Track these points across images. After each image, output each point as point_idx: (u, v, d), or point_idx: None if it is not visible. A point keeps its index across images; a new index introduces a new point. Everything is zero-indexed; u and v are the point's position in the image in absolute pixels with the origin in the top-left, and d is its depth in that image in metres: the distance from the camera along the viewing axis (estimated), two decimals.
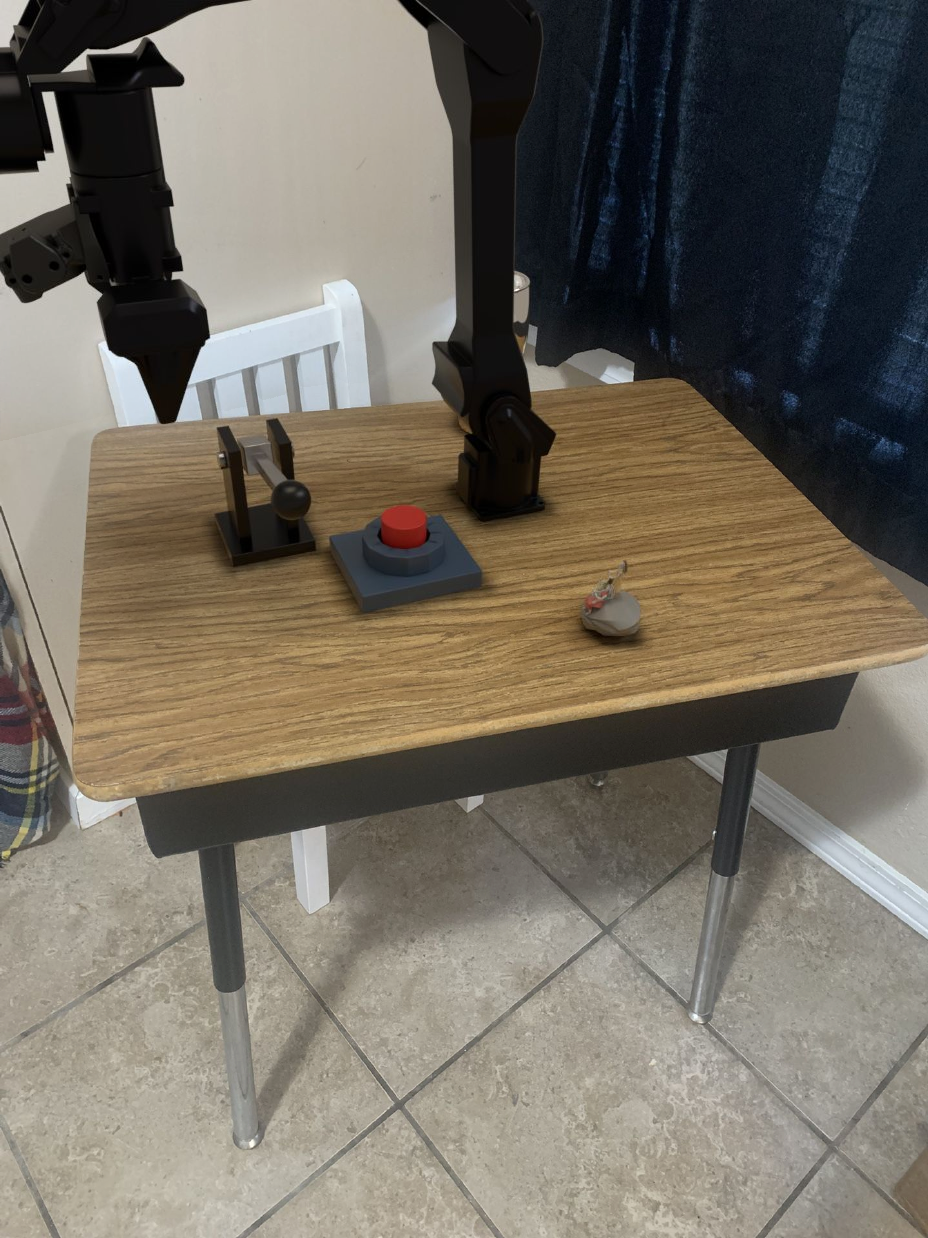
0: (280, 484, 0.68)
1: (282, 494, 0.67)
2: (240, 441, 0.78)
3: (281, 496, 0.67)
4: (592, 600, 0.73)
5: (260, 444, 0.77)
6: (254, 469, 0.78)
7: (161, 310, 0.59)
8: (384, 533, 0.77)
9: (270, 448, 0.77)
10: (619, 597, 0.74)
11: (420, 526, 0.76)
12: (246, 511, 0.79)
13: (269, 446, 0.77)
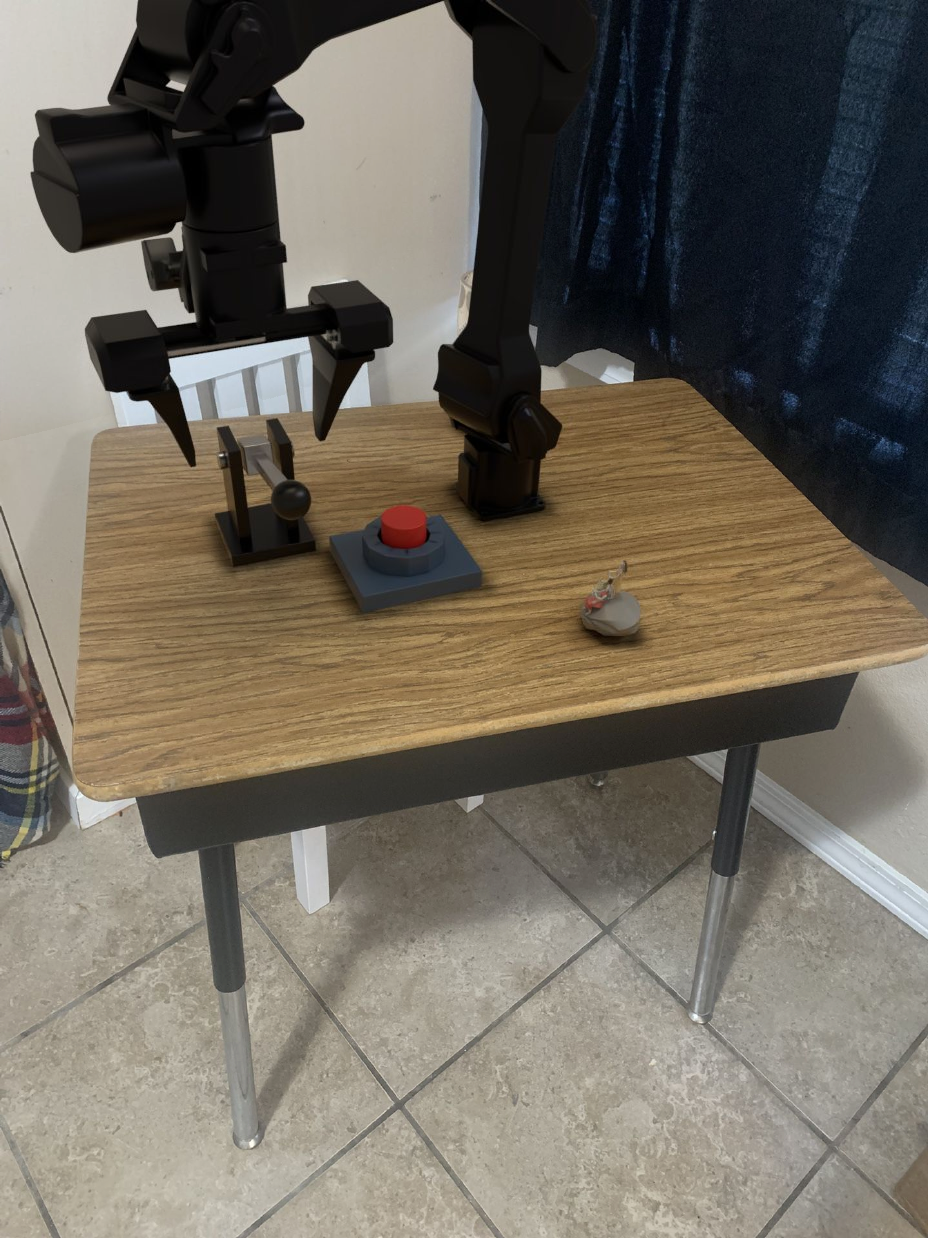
0: (280, 484, 0.68)
1: (282, 494, 0.67)
2: (240, 441, 0.78)
3: (281, 496, 0.67)
4: (592, 600, 0.73)
5: (260, 444, 0.77)
6: (254, 469, 0.78)
7: (93, 341, 0.59)
8: (384, 533, 0.77)
9: (270, 448, 0.77)
10: (619, 597, 0.74)
11: (420, 526, 0.76)
12: (246, 511, 0.79)
13: (269, 446, 0.77)
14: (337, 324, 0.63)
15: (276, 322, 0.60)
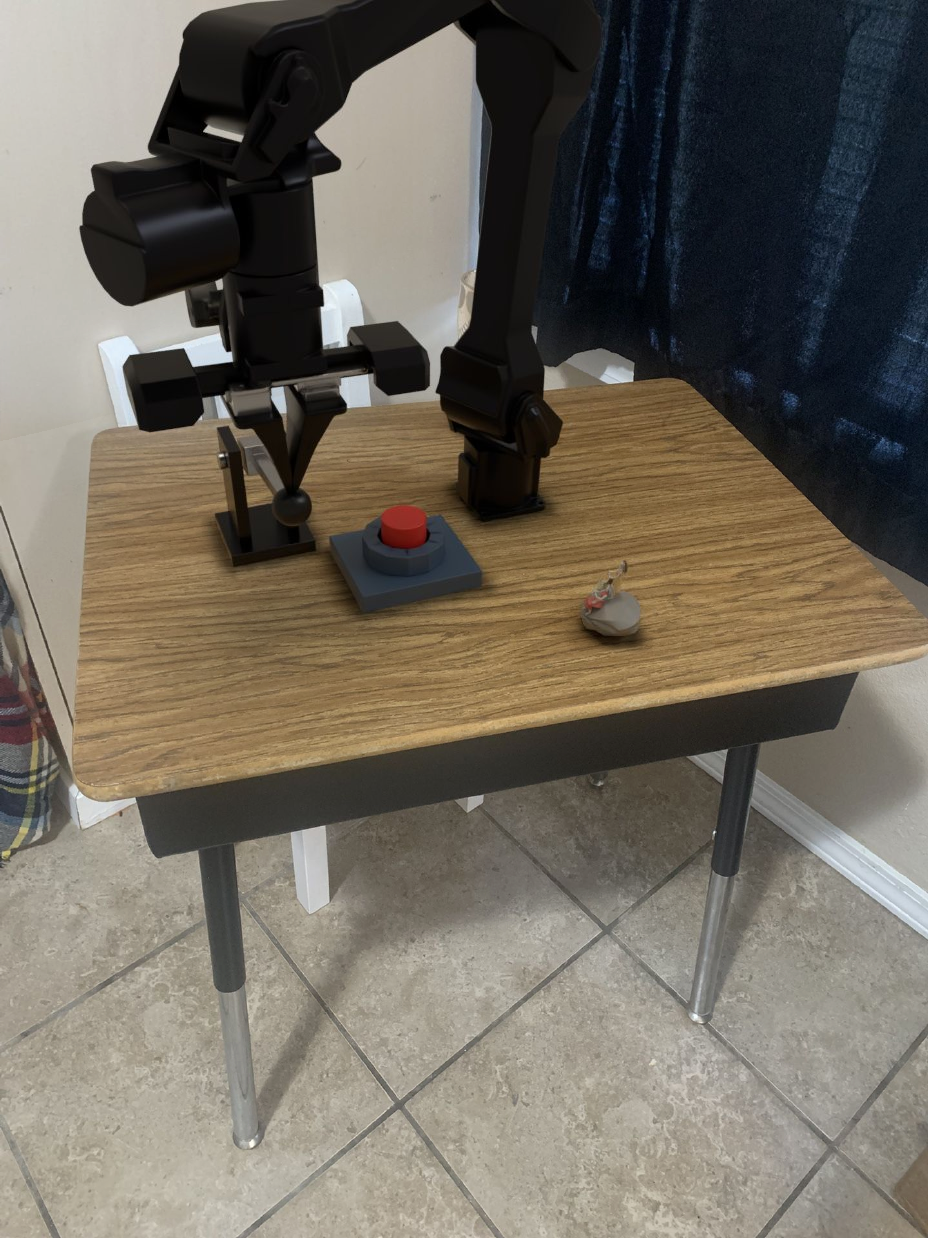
0: (281, 491, 0.68)
1: (283, 501, 0.67)
2: (240, 441, 0.78)
3: (282, 503, 0.67)
4: (592, 600, 0.73)
5: (260, 444, 0.77)
6: (254, 470, 0.78)
7: (129, 379, 0.59)
8: (384, 533, 0.77)
9: None
10: (619, 597, 0.74)
11: (420, 526, 0.76)
12: (246, 511, 0.79)
13: None
14: (373, 367, 0.62)
15: (311, 365, 0.60)
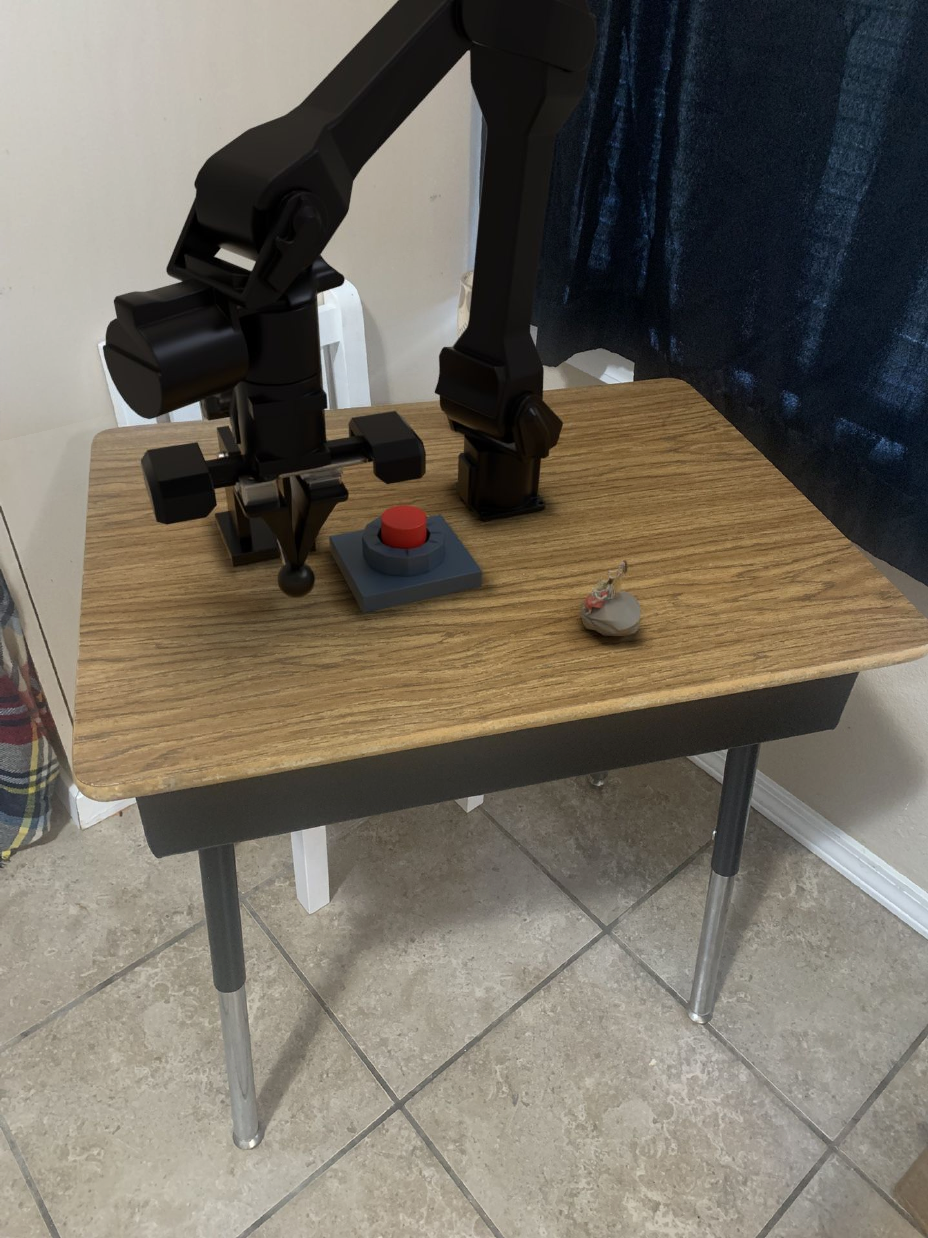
0: (289, 572, 0.72)
1: (290, 586, 0.72)
2: None
3: (289, 586, 0.72)
4: (592, 600, 0.73)
5: None
6: None
7: (147, 475, 0.64)
8: (384, 533, 0.77)
9: None
10: (619, 597, 0.74)
11: (420, 526, 0.76)
12: None
13: None
14: (373, 459, 0.67)
15: (316, 460, 0.65)
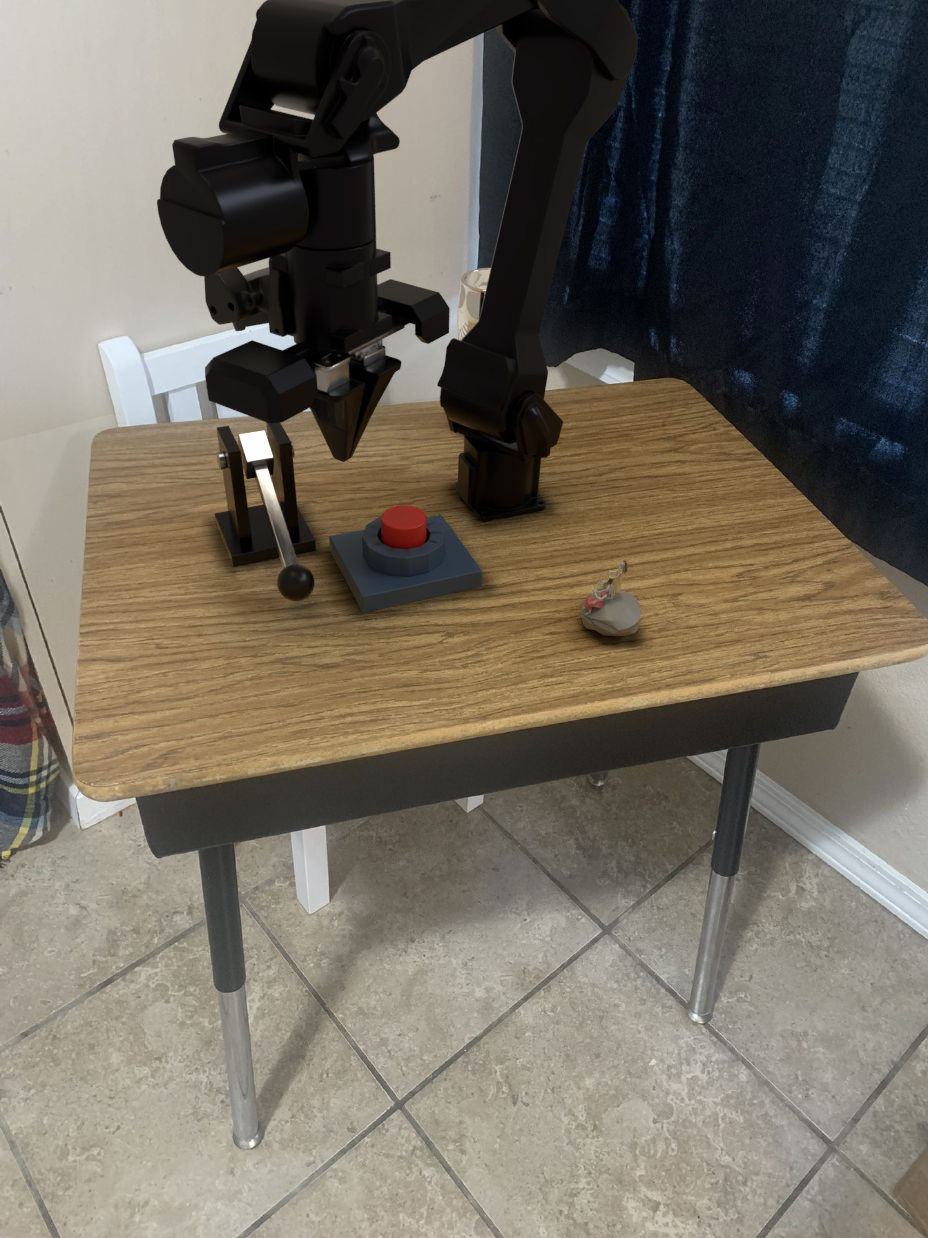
0: (289, 576, 0.73)
1: (290, 590, 0.73)
2: (242, 445, 0.77)
3: (289, 590, 0.73)
4: (592, 600, 0.73)
5: (263, 459, 0.77)
6: (253, 475, 0.78)
7: (239, 378, 0.58)
8: (384, 533, 0.77)
9: (272, 461, 0.78)
10: (619, 597, 0.74)
11: (420, 526, 0.76)
12: (246, 511, 0.79)
13: (272, 460, 0.77)
14: (415, 319, 0.67)
15: (382, 326, 0.64)
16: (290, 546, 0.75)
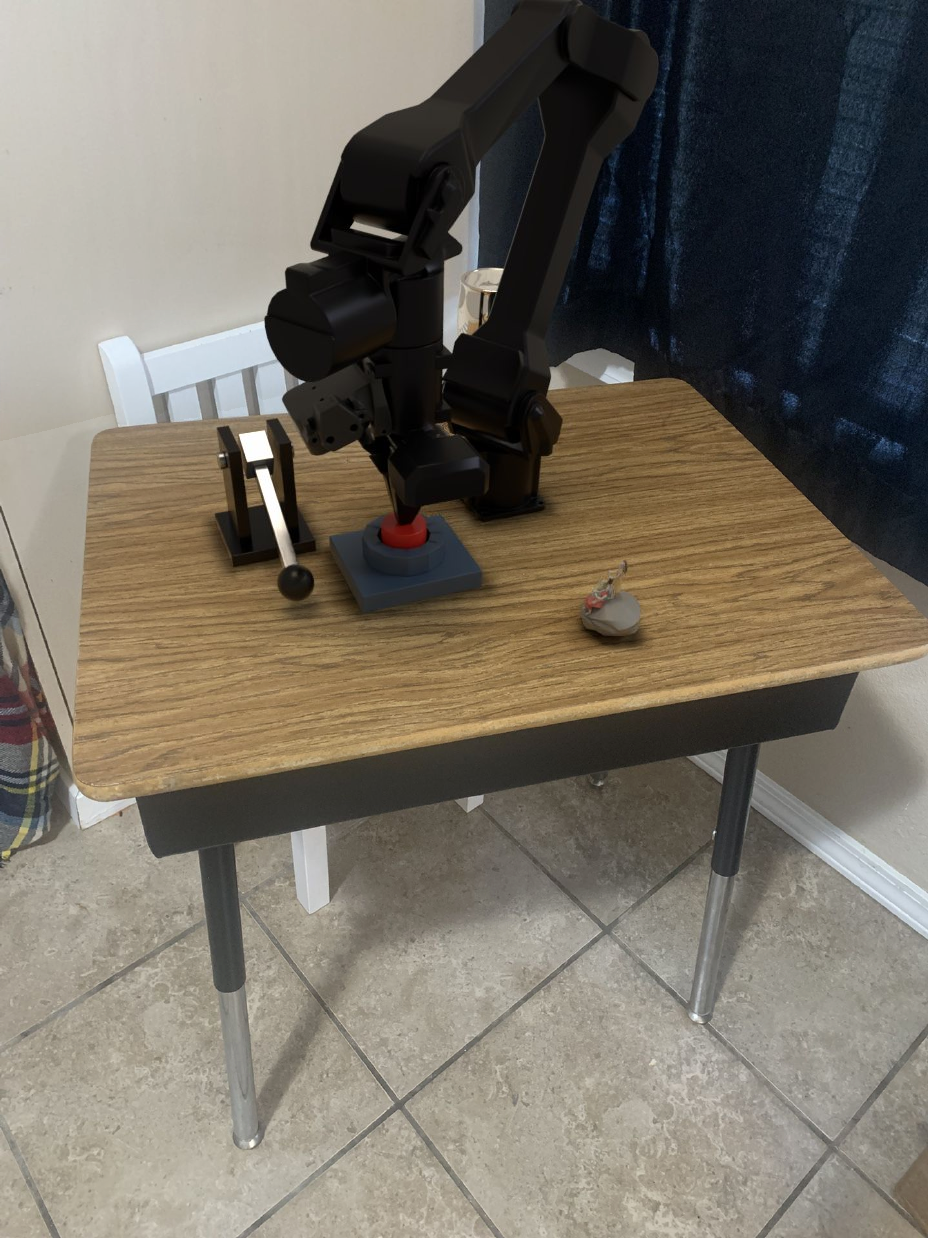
0: (289, 576, 0.73)
1: (290, 590, 0.73)
2: (242, 445, 0.77)
3: (289, 590, 0.73)
4: (592, 600, 0.73)
5: (263, 459, 0.77)
6: (253, 475, 0.78)
7: (455, 470, 0.65)
8: (384, 539, 0.77)
9: (272, 461, 0.78)
10: (619, 597, 0.74)
11: (420, 533, 0.77)
12: (246, 511, 0.79)
13: (272, 460, 0.77)
14: None
15: None
16: (290, 546, 0.75)
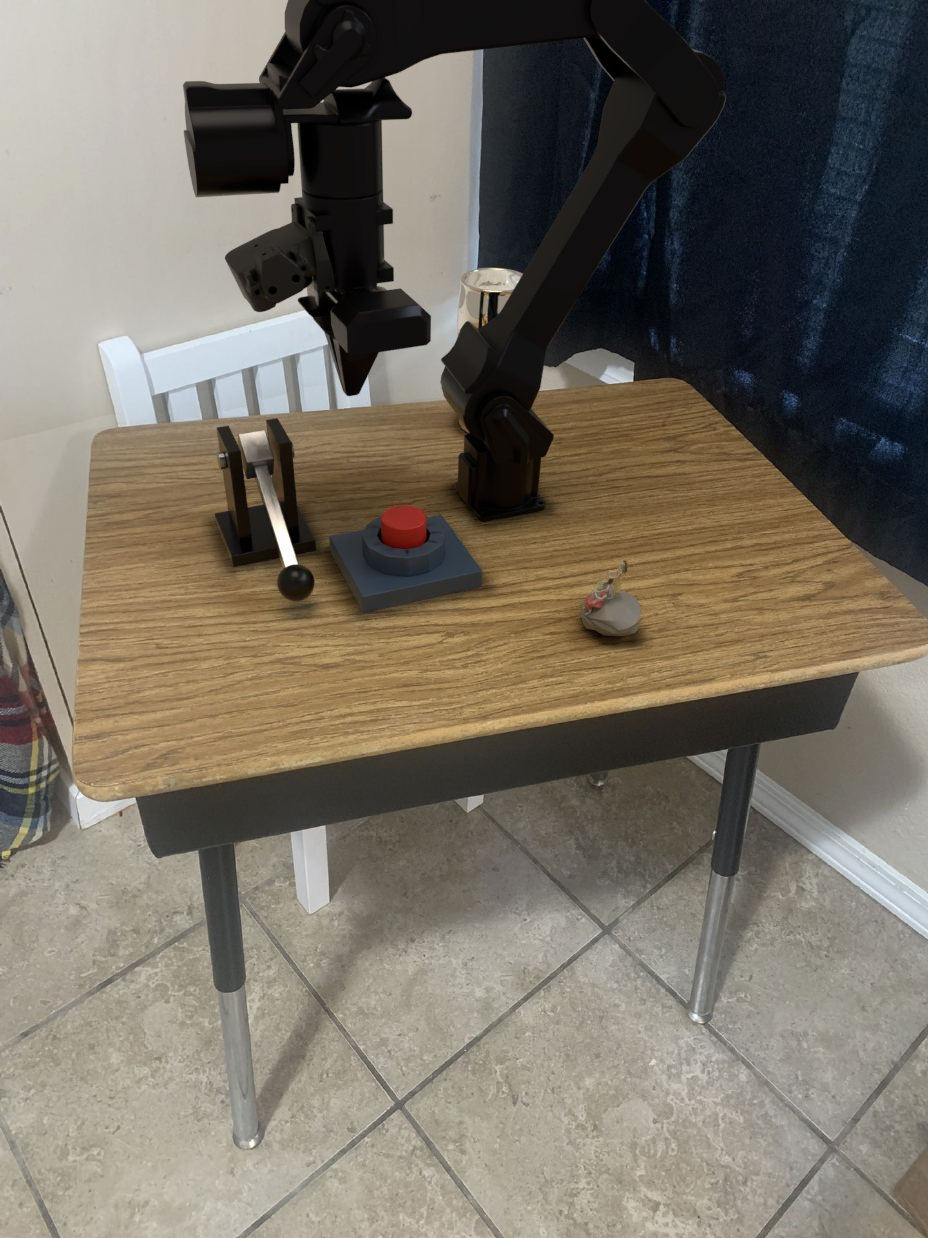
0: (289, 576, 0.73)
1: (290, 590, 0.73)
2: (242, 445, 0.77)
3: (289, 590, 0.73)
4: (592, 600, 0.73)
5: (263, 459, 0.77)
6: (253, 475, 0.78)
7: (396, 317, 0.66)
8: (384, 533, 0.77)
9: (272, 461, 0.78)
10: (619, 597, 0.74)
11: (420, 526, 0.76)
12: (246, 511, 0.79)
13: (272, 460, 0.77)
14: None
15: None
16: (290, 546, 0.75)
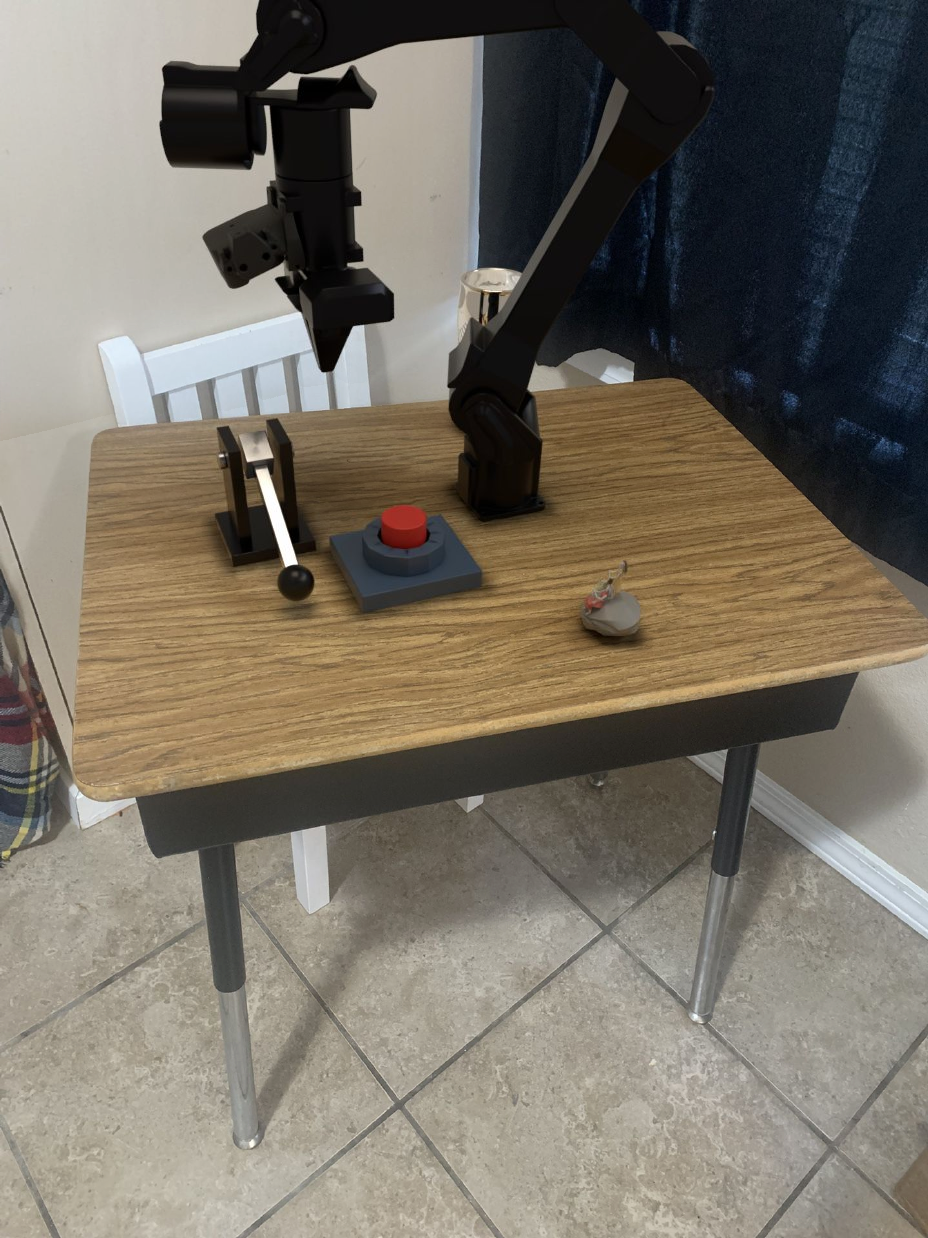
0: (289, 576, 0.73)
1: (290, 590, 0.73)
2: (242, 445, 0.77)
3: (289, 590, 0.73)
4: (592, 600, 0.73)
5: (263, 459, 0.77)
6: (253, 475, 0.78)
7: (359, 294, 0.70)
8: (384, 533, 0.77)
9: (272, 461, 0.78)
10: (619, 597, 0.74)
11: (420, 526, 0.76)
12: (246, 511, 0.79)
13: (272, 460, 0.77)
14: None
15: None
16: (290, 546, 0.75)
